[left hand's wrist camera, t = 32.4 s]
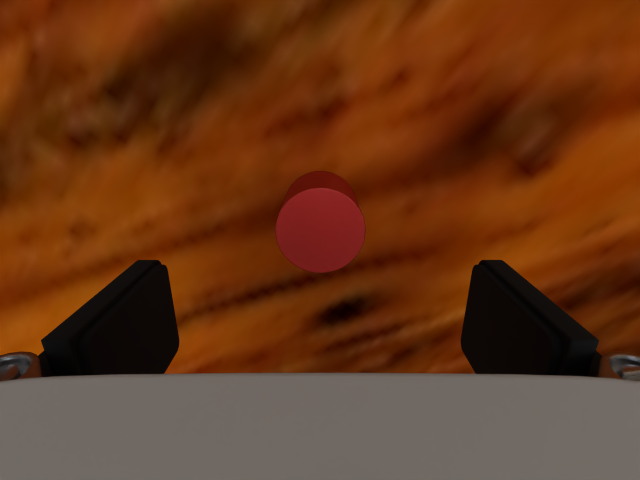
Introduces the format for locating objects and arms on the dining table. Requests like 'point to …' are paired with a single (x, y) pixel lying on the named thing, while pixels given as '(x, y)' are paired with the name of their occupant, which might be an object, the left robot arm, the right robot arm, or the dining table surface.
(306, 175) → the can
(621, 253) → the dining table surface
